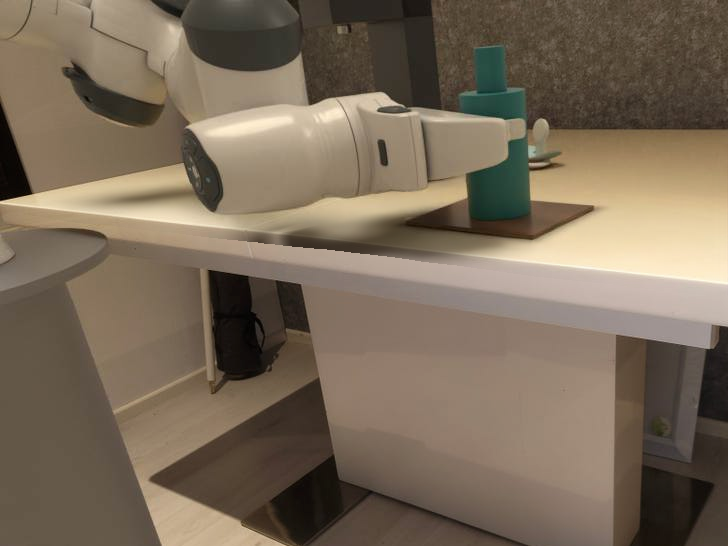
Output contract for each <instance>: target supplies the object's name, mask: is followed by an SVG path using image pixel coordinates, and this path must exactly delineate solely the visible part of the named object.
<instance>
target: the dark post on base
mask: <svg viewBox="0 0 728 546" xmlns="http://www.w3.org/2000/svg"><path fill="white" fill-rule="evenodd" d="M297 1H298V7H299V13H300V18H301V19H300V20H301V24H302V29H303V30H316V29H317V30H318V29H329V28H330V29H331V28H336V31H337V35H346V34H352V33H353V32H352V31H353V30H352V27H355V26H366V32H367V40H368V47H369V54H370V62H371V68H372V77H373V83H374V89H375V90H374V91H375V92H383V93H385V94H386V95H387V96H388V97H389V98H390V99H391V100H392V101H394V102H396V103H398V104H401V105H403V106H404V107H405V108H412V107H419V108H427V109H434V110H442V111H443V108H442V97H441V88H440V86H441V85H440V76H439V67H438V57H437V46H436V36H435V27H434V16H433V6H432V0H297ZM434 181H435V180H428V182H434Z"/></svg>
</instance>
